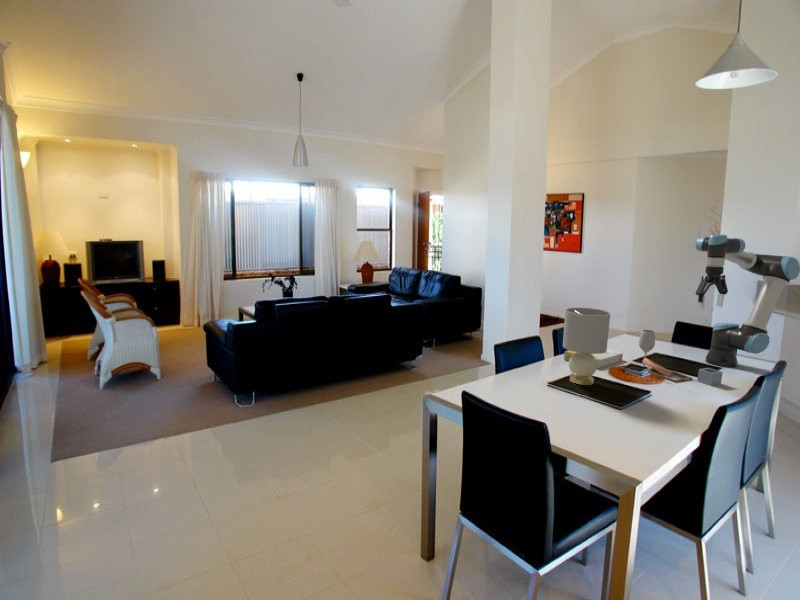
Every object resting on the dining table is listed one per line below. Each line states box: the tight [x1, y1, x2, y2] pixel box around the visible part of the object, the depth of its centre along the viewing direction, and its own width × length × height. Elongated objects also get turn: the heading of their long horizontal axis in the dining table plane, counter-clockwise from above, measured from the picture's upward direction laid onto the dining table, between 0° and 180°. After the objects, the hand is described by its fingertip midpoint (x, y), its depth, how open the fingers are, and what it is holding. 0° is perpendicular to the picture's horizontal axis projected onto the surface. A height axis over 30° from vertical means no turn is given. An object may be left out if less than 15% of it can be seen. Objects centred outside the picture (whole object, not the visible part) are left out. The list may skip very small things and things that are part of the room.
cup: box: [696, 367, 723, 387], centre depth 237 cm, size 7×7×8 cm
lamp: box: [562, 307, 611, 386], centre depth 235 cm, size 20×20×35 cm
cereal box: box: [563, 348, 624, 369], centre depth 276 cm, size 20×6×28 cm
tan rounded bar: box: [641, 357, 673, 378], centre depth 253 cm, size 8×3×16 cm
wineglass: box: [638, 329, 656, 367], centre depth 260 cm, size 8×8×21 cm
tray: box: [644, 368, 693, 386], centre depth 247 cm, size 12×18×2 cm, turn 22°
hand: (710, 307), depth 247 cm, fingers open, 13 cm apart
